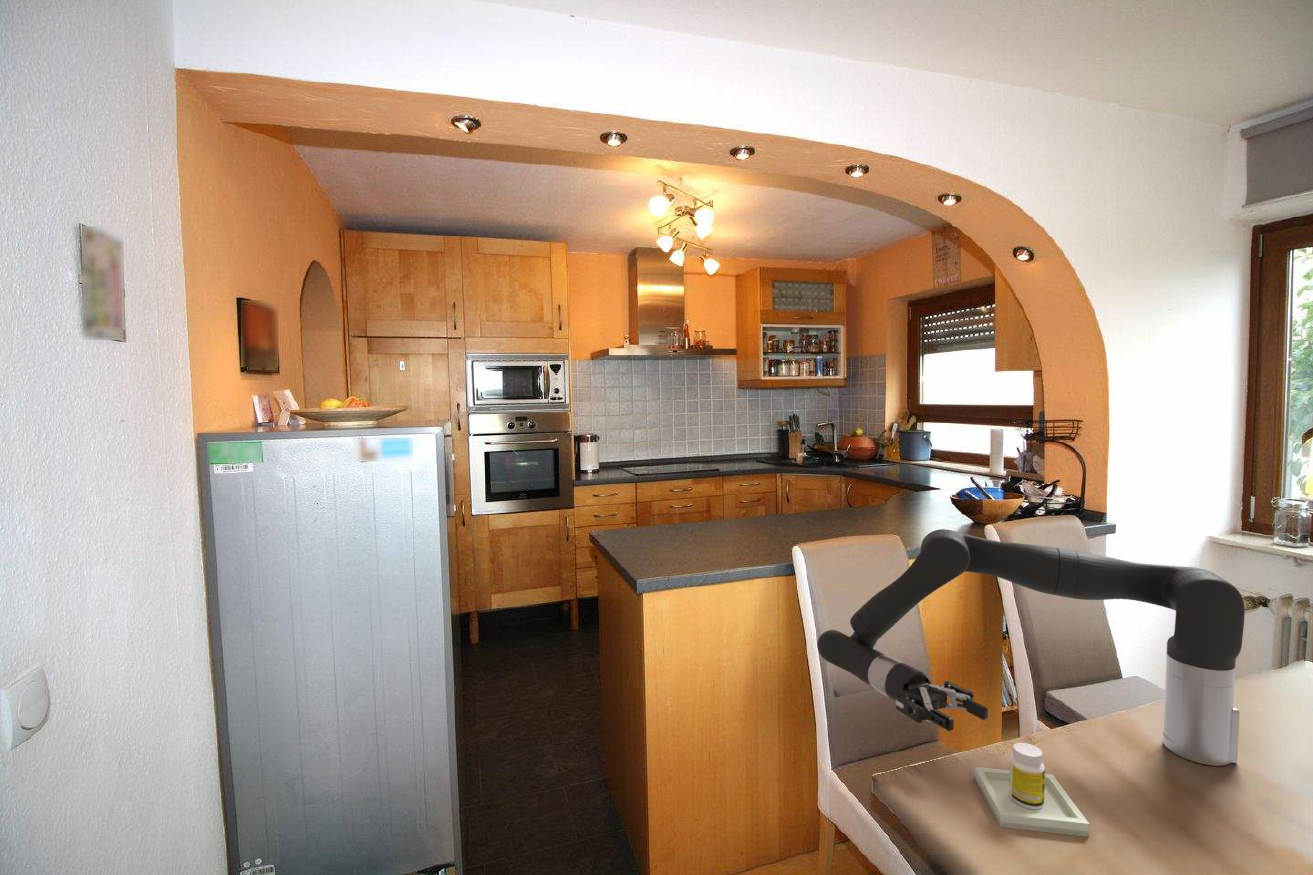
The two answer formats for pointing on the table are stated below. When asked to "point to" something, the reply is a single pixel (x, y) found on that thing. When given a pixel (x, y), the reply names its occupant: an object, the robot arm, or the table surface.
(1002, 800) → the tray
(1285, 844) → the table surface
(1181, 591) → the robot arm
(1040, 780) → the supplement bottle
